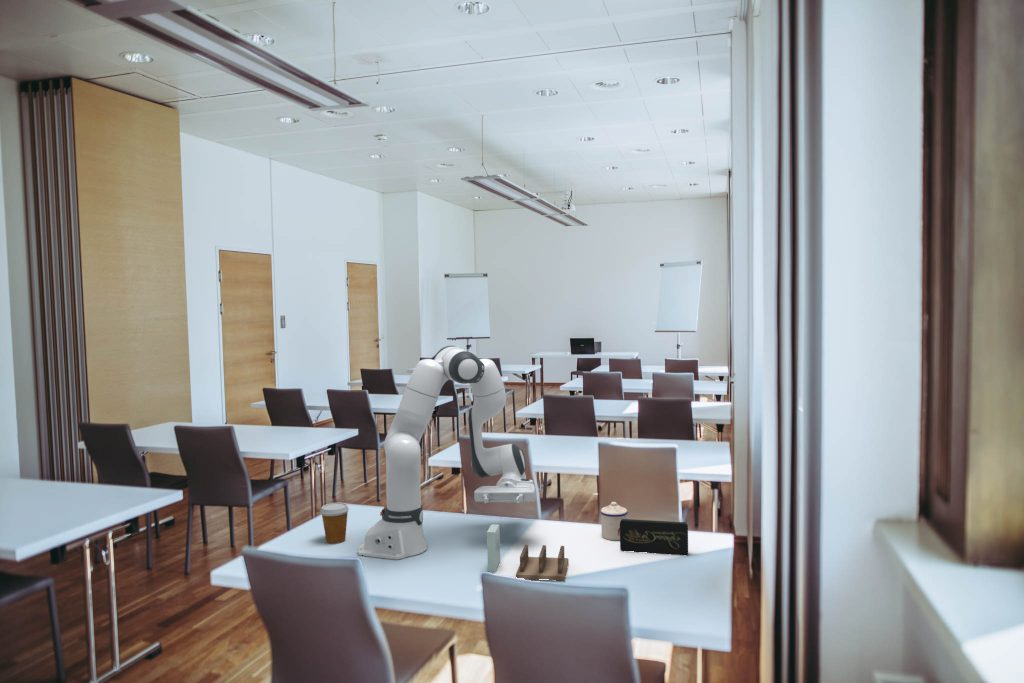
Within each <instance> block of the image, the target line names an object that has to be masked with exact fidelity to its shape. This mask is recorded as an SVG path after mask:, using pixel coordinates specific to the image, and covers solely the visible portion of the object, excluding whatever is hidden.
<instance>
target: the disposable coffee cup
mask: <svg viewBox="0 0 1024 683" xmlns="http://www.w3.org/2000/svg"><path fill="white" fill-rule="evenodd" d="M349 510H350V508H349V506H348V503H345V502H332V503H331V502H330V503H326V504H323V505H322V506H321V508H320V510H319V511H320V512H319V513H320V515H321V517H322V518H321V519H322V523H323V530H324V535H325V541H326V543H327V544H332V545H333V544H334V545H335V544H340V543H343V542H345V541H346V535H347V534H346V533H347V526H348V525H347V522H348V512H349Z"/></svg>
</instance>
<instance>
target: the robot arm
mask: <svg viewBox="0 0 1024 683" xmlns="http://www.w3.org/2000/svg"><path fill="white" fill-rule="evenodd" d="M447 381H453V382H456V383H458V384H462V385H463V384H465V385H466V384H467V385H468V384H469V386H470V387H471V392H472V396H473V403H472V406H471V407H470V408H469V410H468V418H467V421H468V434H469V442H470V453H471V455H470V456H471V458H470V460H471V462H470V463H471V465H470V466H471V469H472V473H473V474H474V475H476V476H477V477H479V478H481V479H487V478H490V477H492V476H498V475H501V477H500V478H499V480H498V481H497V482H496V484H495V485H482V486H479V487H478V488H477V489H475V490H474V494H473V496H474V497H473V499H474V501H475V502H476V503H484V504H485V505H490V503H505V504H512V503H513V504H516V505H517V504H518V505H519V503H534V502H535V501H536V486H535V485H534V480H532V479H529V478H527V475H526V468H527V464H526V462H527V461H526V458H525V457H526V456H525V454H524V452H523V449H521V448H520V447H519V446H518V445H517V444H515V443H508V444H501V445H498V446H493V447H488V448H487V447H484V441H483V434H482V431H483V430H482V427H483V425H484V424H485V423H486V422H488V421H489V420H491V419H493V418H494V417H496V416H497V415H498V414H500V412H501V411H503V409H504V408H505V405H506V404H507V393H506V389H505V385H504V381H503V379H502V376H501V373H500V371H499V369H498V366H497V365H496V364H495V361H493V360H492V359H490V358H479V357H478V356H476V355H475V354H474V353H473V352H470V351H468V350H467V349H465V348H462V347H458V346H456V345H447V346H444V347H442V348H440V349H439V350H438V351H437V353H436V354H435V355H434V356H432V357H431V358H424V359H420V360H419V361H418V362H417V363H416V365H415V367H414V369H413V371H412V373H411V375H410V376H409V379H408V381H407V384H406V387H405V389H404V391H403V392H404V393H402V394H403V395H402V396H401V400H400V403H399V404H398V405H399V406H398V409H397V411H396V413H395V415H394V418H393V419H392V422H391V425H390V426H389V428H388V432H387V434H386V436H385V439H384V442H383V448H384V452H385V487H386V491H385V492H386V493H385V494H386V504H385V505H384V507H383V508H382V509H381V510H380V513H379V516H380V517H381V519H379V520H378V521H377V522H376V523H375V524H374V525H371V527H370V528H369V529H368V530H367V531H366V533H365V538H364V542H363V543H362V544H361V545H360V546H359V547H358V548H357V555H358V556H362V555H363V557H371V558H378V559H379V558H380V559H386V560H387V559H388V560H396V561H397V560H401V559H404V558H407V557H413V556H416V555H419V554H420V555H421V554H422V553H424V552H426V550H428V544H427V540H426V537H425V532H424V527H423V522H424V511H423V510H424V509H423V505H422V498H421V497H422V496H421V475H422V473H421V471H422V470H421V469H422V468H421V467H422V461H421V460H422V457H421V456H422V455H421V452H422V450H421V446H420V441H421V439H422V437H423V435H424V433H425V431H426V428H427V426H428V424H429V422H430V421H431V418H432V416H433V413H434V409H435V407H436V405H437V402H438V399H439V396H440V393H441V390H442V388H443V386H444V385H445V384H446V382H447Z"/></svg>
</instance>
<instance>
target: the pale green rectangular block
mask: <svg viewBox="0 0 1024 683" xmlns="http://www.w3.org/2000/svg"><path fill="white" fill-rule="evenodd" d="M500 535H501V534H500V524H493V523H492V524H491V525H489V527H488V530H487V531H486V551H487V552H486V557H487V558H486V559H487V572H488V571H489V572H491V573H497V572H498V569H499V567H500V565H501V536H500ZM499 564H500V565H499ZM498 566H499V567H498ZM497 568H498V569H497ZM489 572H488V573H489Z"/></svg>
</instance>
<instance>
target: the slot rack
mask: <svg viewBox="0 0 1024 683" xmlns="http://www.w3.org/2000/svg"><path fill="white" fill-rule="evenodd" d="M538 555H539V556H529V544H524V546H523V548H522V551H521V553H520V556H519V565H518V568H517V570H516V573H515V578H516V577H517V578H524V579H529V580H528V581H537V580H539V579H549V580H556V581H555V582H561V581H563V583H565V580H566V577H565V576H567V572H568V568H567V567H569V557H565V545H560V548H559V551H558V556H557V557H547V545H546V544H545V545H544V544H542V546H541V549H540V552H539V554H538ZM539 581H540V582H541V581H542V582H543V581H544V582H548V581H547V580H539Z"/></svg>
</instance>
